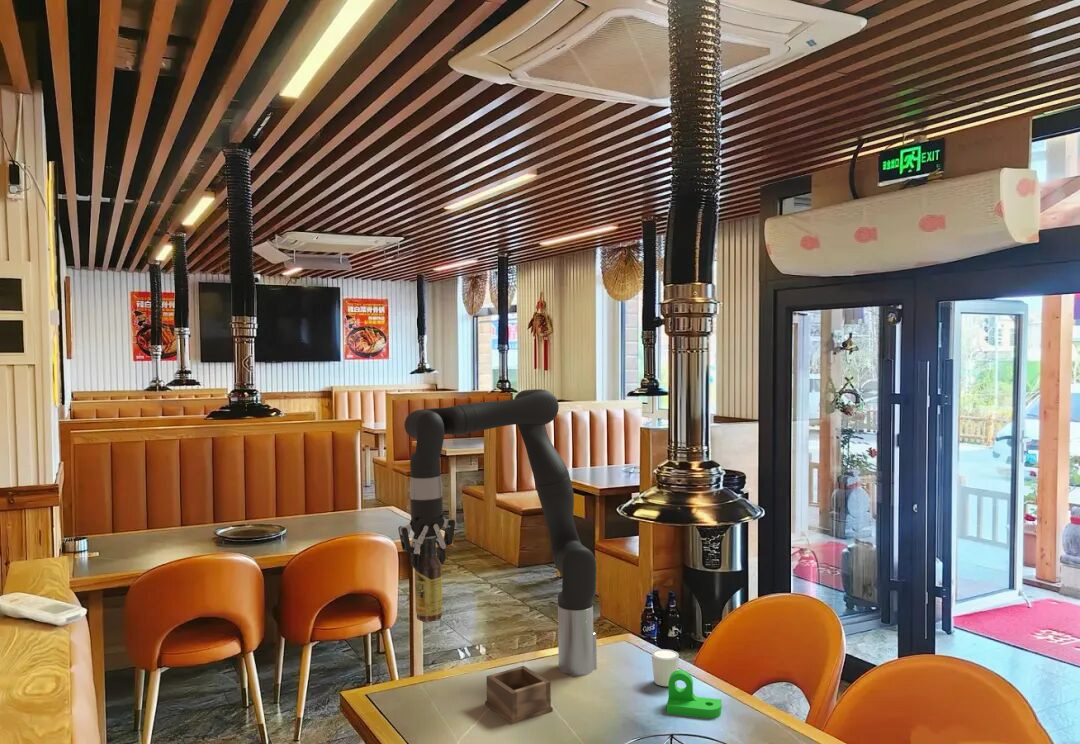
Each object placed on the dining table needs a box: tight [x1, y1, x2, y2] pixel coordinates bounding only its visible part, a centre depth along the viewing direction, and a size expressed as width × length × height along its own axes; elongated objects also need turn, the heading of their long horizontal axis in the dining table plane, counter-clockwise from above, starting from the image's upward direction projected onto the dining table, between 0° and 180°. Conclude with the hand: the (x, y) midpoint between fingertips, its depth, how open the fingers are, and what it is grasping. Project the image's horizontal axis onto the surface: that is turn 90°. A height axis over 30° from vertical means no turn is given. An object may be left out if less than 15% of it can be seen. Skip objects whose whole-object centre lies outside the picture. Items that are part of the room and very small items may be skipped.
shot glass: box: [651, 648, 680, 687], centre depth 195 cm, size 7×7×7 cm
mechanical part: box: [666, 669, 723, 719], centre depth 180 cm, size 12×6×8 cm, turn 74°
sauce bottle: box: [414, 535, 443, 623], centre depth 183 cm, size 7×6×20 cm
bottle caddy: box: [484, 665, 554, 725], centre depth 181 cm, size 11×12×7 cm
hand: (428, 566), depth 183 cm, fingers closed on sauce bottle, 5 cm apart
